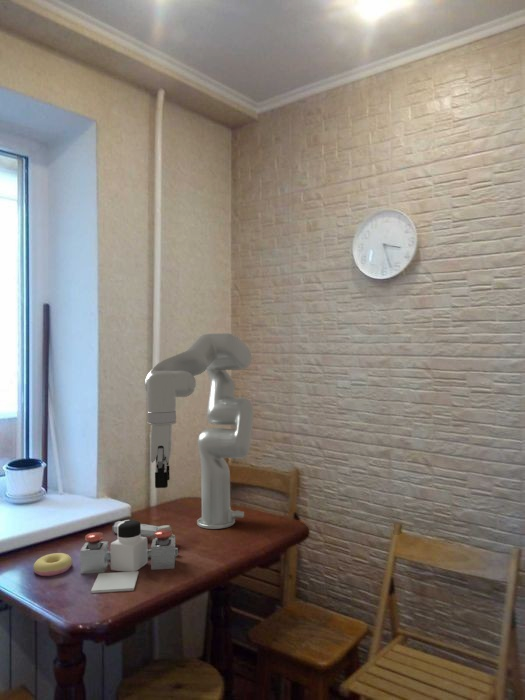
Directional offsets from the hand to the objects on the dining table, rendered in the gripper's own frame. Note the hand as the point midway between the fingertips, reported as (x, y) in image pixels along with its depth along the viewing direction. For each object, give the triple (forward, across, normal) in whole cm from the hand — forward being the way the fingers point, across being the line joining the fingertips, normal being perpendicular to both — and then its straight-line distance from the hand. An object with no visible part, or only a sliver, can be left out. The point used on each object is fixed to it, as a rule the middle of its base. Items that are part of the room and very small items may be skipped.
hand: (162, 483), depth 144 cm
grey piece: (+22, -20, -8) cm, 31 cm away
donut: (+22, -1, -29) cm, 37 cm away
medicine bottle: (+22, 0, -9) cm, 24 cm away
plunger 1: (+21, 0, -18) cm, 28 cm away
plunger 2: (+21, 0, 0) cm, 21 cm away
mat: (+22, +10, -11) cm, 26 cm away
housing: (+22, -2, -9) cm, 24 cm away
